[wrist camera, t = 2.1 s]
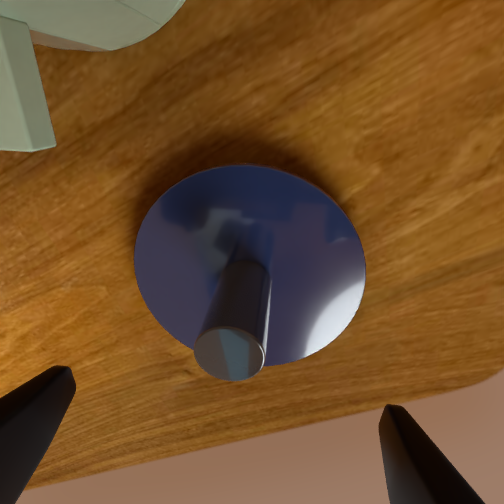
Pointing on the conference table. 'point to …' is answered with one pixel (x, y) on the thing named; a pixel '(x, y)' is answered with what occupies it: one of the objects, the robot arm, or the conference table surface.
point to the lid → (249, 267)
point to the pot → (62, 37)
